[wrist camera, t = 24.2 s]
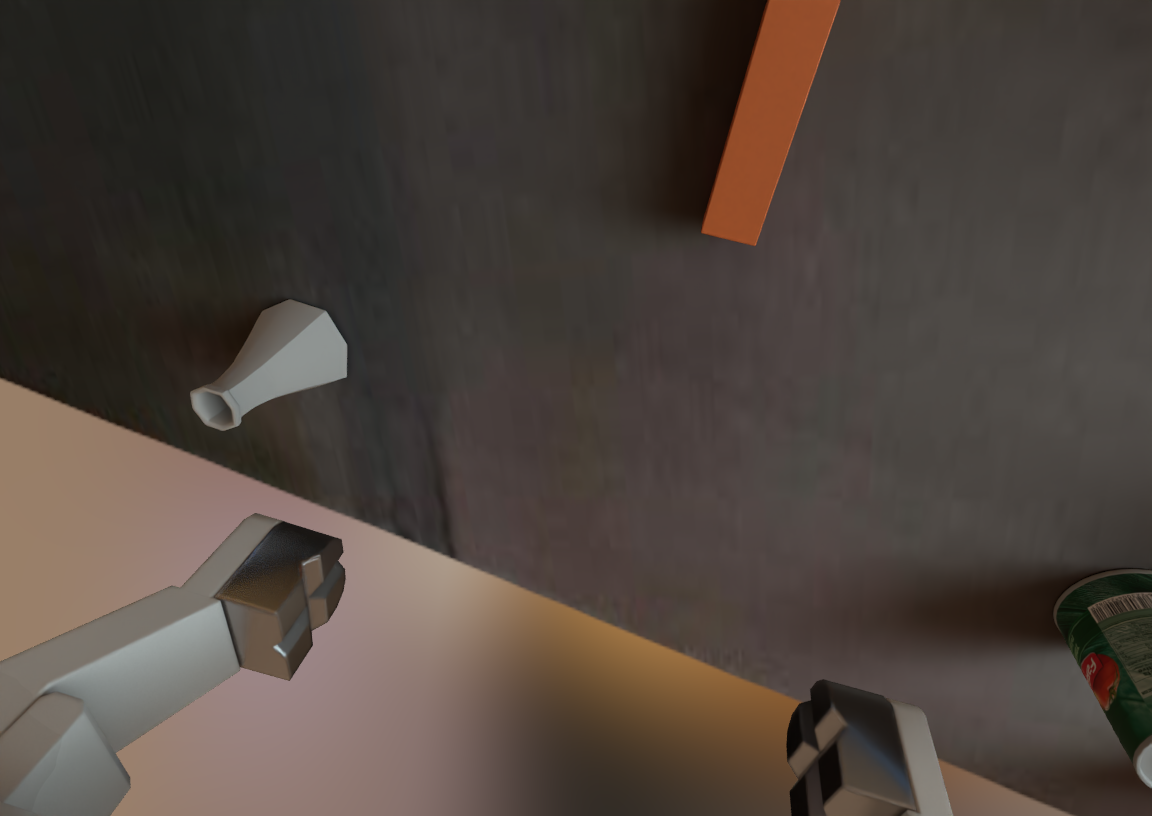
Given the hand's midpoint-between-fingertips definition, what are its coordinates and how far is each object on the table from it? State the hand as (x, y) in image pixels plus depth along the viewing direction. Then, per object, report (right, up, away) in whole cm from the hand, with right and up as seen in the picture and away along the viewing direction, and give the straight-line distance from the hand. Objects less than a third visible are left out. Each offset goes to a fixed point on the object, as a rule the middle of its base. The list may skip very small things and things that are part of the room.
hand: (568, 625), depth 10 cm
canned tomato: (+38, -10, +32) cm, 51 cm away
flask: (-20, +9, +36) cm, 42 cm away
